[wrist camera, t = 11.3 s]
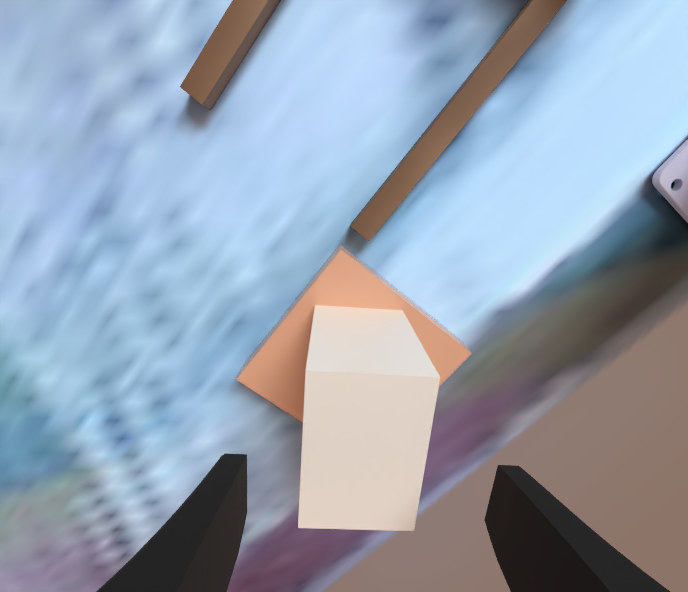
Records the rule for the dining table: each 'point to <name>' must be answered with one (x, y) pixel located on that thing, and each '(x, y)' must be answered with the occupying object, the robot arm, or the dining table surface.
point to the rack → (247, 22)
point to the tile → (345, 291)
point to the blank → (364, 420)
